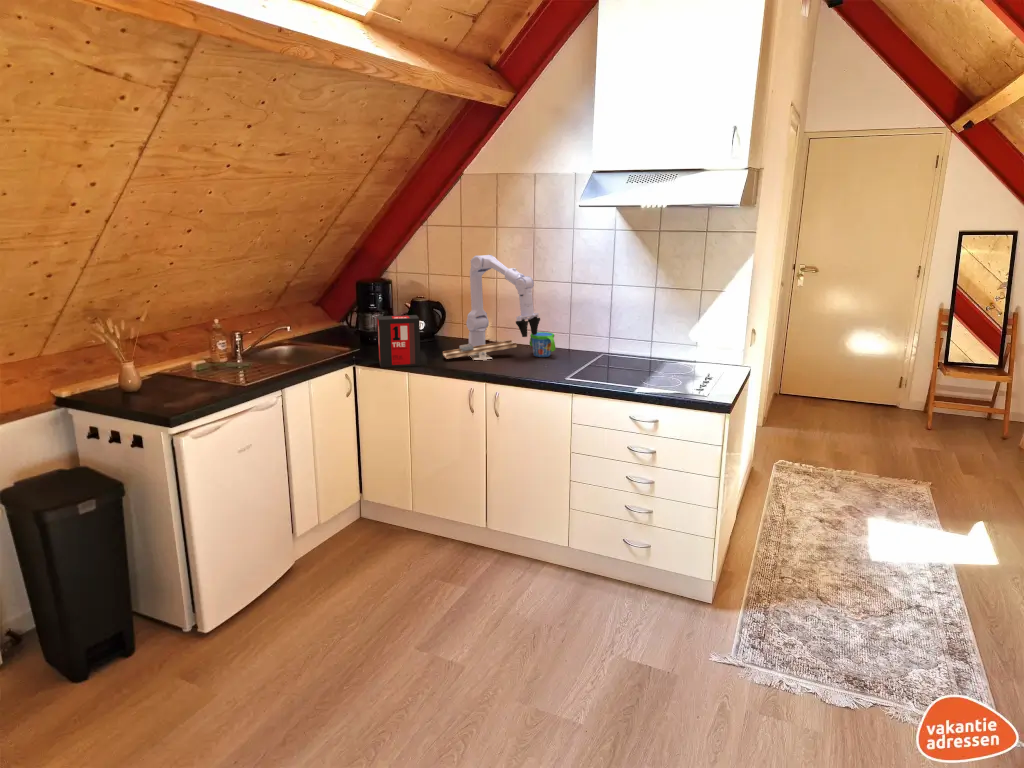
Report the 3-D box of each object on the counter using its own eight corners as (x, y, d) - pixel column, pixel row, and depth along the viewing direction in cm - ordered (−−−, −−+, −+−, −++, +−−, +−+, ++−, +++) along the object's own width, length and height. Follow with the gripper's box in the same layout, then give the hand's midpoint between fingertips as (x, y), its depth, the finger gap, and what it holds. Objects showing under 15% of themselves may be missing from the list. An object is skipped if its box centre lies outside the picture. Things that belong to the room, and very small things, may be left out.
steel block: (459, 350, 294) (459, 345, 293) (470, 349, 295) (470, 343, 295) (462, 353, 290) (462, 347, 289) (473, 351, 291) (473, 345, 290)
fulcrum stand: (468, 355, 299) (468, 347, 298) (485, 354, 301) (485, 347, 301) (474, 361, 289) (474, 352, 288) (492, 359, 291) (492, 351, 290)
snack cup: (522, 354, 304) (523, 332, 301) (542, 351, 309) (542, 330, 307) (541, 360, 291) (542, 337, 289) (561, 358, 296) (562, 335, 294)
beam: (446, 359, 287) (446, 354, 286) (443, 355, 293) (442, 351, 293) (516, 347, 296) (516, 343, 295) (511, 344, 302) (511, 340, 302)
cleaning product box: (380, 367, 276) (378, 319, 271) (379, 362, 284) (377, 316, 279) (420, 365, 280) (419, 318, 275) (417, 360, 288) (416, 315, 283)
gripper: (524, 305, 281) (528, 337, 283) (543, 302, 292) (546, 333, 294) (511, 306, 285) (514, 338, 287) (529, 303, 296) (533, 333, 299)
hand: (529, 335), depth 291 cm, fingers open, 7 cm apart
